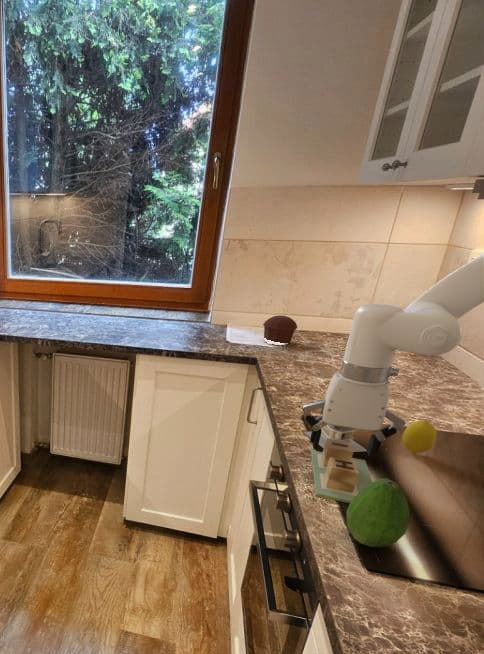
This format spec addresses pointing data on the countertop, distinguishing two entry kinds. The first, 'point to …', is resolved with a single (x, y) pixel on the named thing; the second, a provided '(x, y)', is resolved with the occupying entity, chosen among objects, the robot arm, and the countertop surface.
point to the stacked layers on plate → (338, 436)
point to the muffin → (279, 329)
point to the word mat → (336, 494)
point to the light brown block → (341, 474)
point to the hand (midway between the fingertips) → (341, 450)
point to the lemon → (419, 437)
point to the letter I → (336, 450)
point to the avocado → (378, 514)
